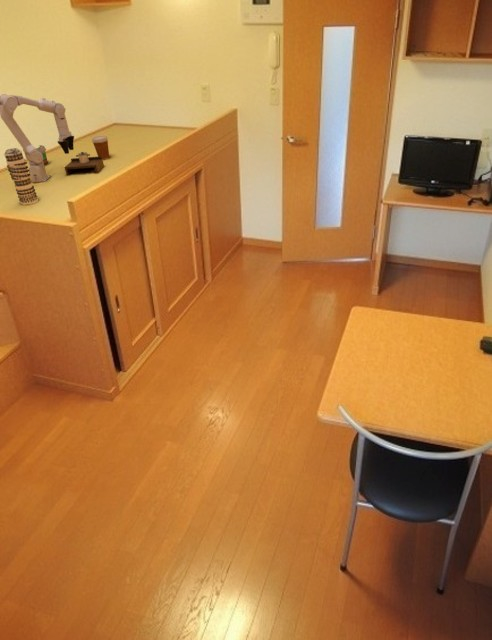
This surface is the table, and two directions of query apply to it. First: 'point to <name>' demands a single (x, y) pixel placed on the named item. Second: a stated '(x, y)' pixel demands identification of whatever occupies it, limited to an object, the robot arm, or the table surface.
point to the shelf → (85, 164)
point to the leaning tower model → (20, 176)
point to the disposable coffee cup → (101, 146)
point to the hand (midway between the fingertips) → (69, 151)
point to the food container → (42, 151)
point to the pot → (83, 157)
